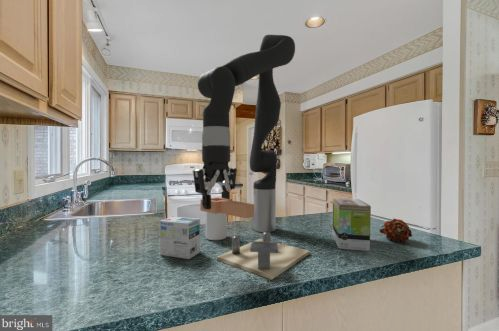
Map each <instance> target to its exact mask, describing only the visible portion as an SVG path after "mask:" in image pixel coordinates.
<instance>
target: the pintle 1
mask: <svg viewBox="0 0 499 331" xmlns="http://www.w3.org/2000/svg"><path fill="white" fill-rule="evenodd" d="M240 247H241V236H240V235H238V234H235V235H232V236H231V251H232V254H234V255H237V254H240Z"/></svg>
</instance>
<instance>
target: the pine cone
mask: <svg viewBox="0 0 499 331" xmlns="http://www.w3.org/2000/svg"><path fill="white" fill-rule="evenodd" d="M379 233H380V234H383V235H385V236H386V237H385V238H386V239H387V240H388V241H394V242H396V243H399V244H401V243H403V242H407V241H409V238H411V237H413V234H412V230H411V229H410V227H409V225H408V224H407V223H406V222H405V221H404V220H402V219H399V218H398V219H397V218H392V219H391V220H387V221H385V222H384V223H383V225H382V226H381V228H379Z"/></svg>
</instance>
